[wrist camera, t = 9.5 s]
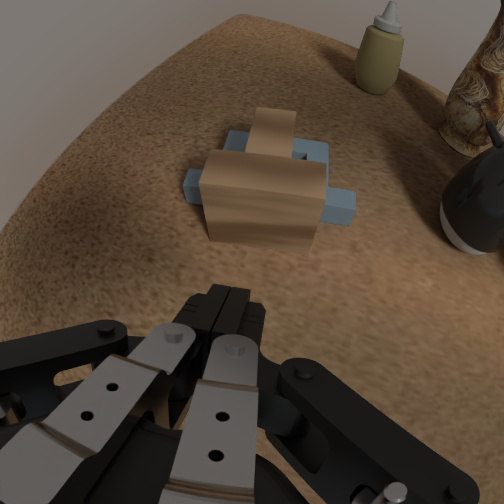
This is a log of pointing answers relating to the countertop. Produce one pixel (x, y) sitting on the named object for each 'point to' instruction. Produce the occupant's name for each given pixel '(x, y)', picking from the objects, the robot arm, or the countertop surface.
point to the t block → (264, 189)
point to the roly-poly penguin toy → (477, 201)
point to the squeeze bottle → (380, 53)
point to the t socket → (337, 200)
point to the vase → (477, 95)
